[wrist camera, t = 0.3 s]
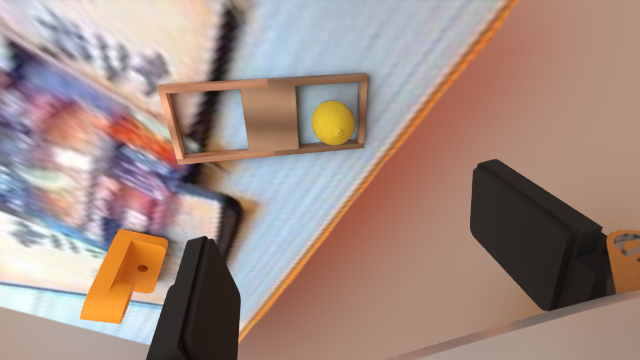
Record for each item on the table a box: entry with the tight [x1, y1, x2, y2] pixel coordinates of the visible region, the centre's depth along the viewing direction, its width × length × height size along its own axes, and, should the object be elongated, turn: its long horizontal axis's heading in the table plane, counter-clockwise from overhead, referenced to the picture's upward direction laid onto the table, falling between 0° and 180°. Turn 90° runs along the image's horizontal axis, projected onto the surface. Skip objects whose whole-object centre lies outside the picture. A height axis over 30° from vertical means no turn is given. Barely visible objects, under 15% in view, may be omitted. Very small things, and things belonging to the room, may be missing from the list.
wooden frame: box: [157, 73, 368, 165], centre depth 44 cm, size 11×27×2 cm, turn 91°
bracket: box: [80, 229, 169, 324], centre depth 47 cm, size 11×7×12 cm
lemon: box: [312, 101, 354, 145], centre depth 42 cm, size 6×6×8 cm
